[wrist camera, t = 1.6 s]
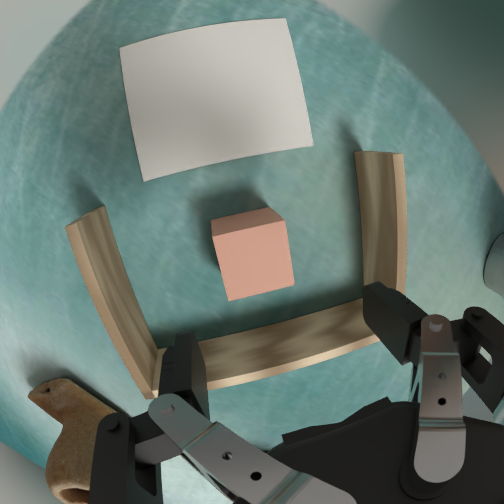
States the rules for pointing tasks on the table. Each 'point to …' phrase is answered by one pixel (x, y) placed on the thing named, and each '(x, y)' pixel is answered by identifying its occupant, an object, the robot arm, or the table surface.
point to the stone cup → (70, 437)
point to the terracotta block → (252, 252)
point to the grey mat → (214, 95)
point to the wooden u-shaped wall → (268, 337)
